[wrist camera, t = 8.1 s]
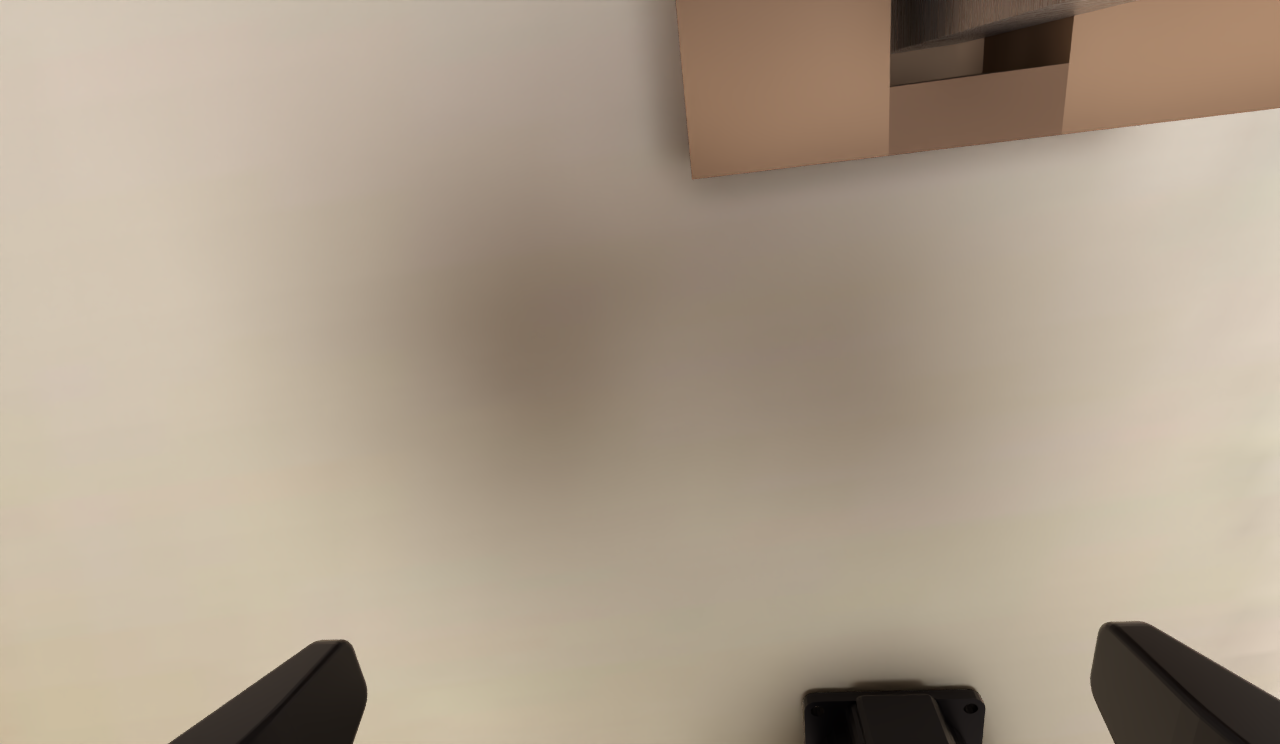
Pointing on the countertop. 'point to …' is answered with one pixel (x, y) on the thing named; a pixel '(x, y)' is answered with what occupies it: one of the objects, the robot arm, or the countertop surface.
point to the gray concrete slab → (975, 19)
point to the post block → (955, 78)
